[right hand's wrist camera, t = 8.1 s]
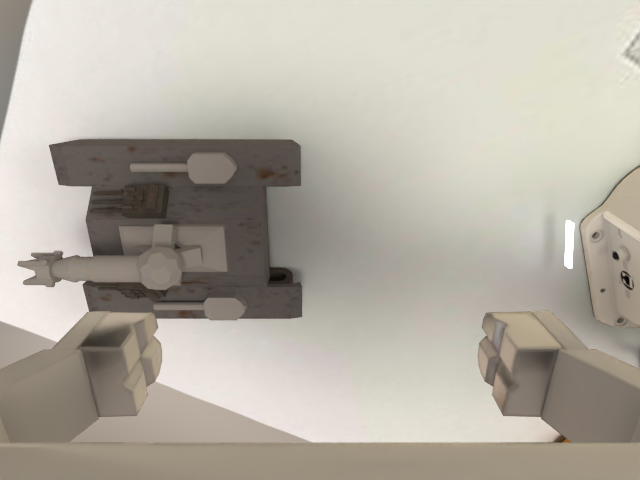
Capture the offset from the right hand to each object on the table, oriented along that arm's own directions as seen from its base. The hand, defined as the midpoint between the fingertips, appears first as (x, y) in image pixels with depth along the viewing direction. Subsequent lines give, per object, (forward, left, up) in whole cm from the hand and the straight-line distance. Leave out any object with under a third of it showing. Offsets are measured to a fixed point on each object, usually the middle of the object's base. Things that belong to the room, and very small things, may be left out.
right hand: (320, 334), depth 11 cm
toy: (-8, +16, -39) cm, 43 cm away
